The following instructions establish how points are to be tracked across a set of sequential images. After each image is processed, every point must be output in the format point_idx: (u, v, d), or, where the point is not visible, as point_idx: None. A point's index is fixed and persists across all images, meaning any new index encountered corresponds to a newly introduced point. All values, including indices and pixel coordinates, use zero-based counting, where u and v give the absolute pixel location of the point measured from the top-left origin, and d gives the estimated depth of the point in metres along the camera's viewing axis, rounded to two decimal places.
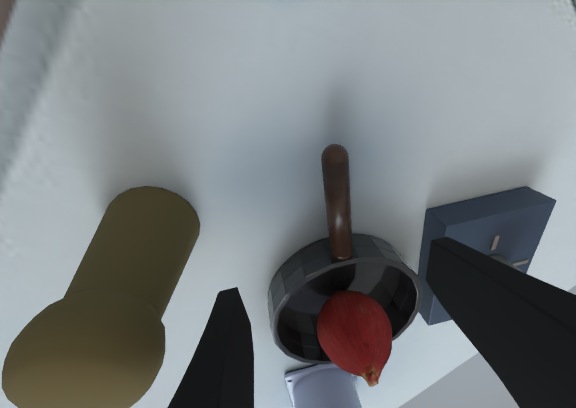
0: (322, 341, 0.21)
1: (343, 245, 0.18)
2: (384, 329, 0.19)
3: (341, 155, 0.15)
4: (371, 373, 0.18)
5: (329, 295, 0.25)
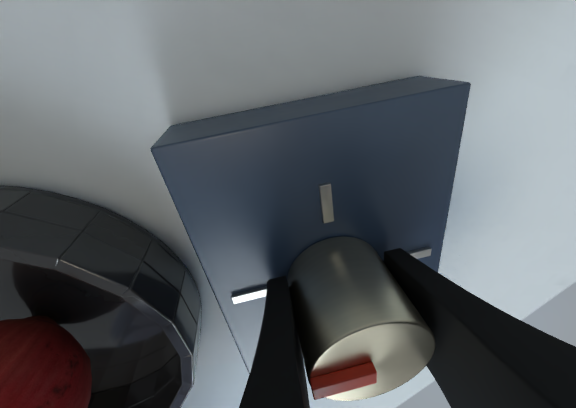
0: None
1: None
2: None
3: None
4: None
5: None
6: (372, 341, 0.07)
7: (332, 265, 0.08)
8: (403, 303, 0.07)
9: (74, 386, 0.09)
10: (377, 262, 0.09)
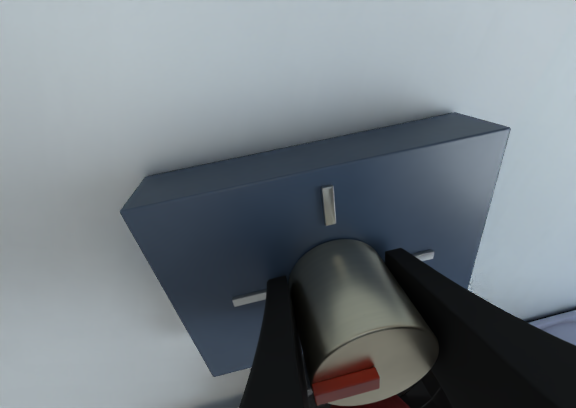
0: None
1: None
2: None
3: None
4: None
5: None
6: (375, 345, 0.07)
7: (334, 268, 0.08)
8: (406, 308, 0.07)
9: None
10: (379, 265, 0.08)
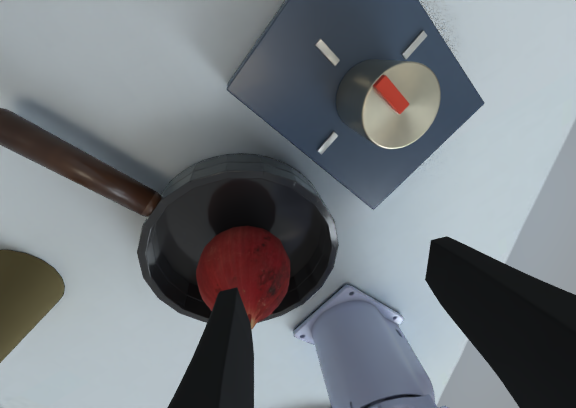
0: None
1: (125, 200, 0.15)
2: (239, 260, 0.15)
3: None
4: None
5: None
6: (422, 85, 0.11)
7: None
8: None
9: (272, 238, 0.17)
10: None
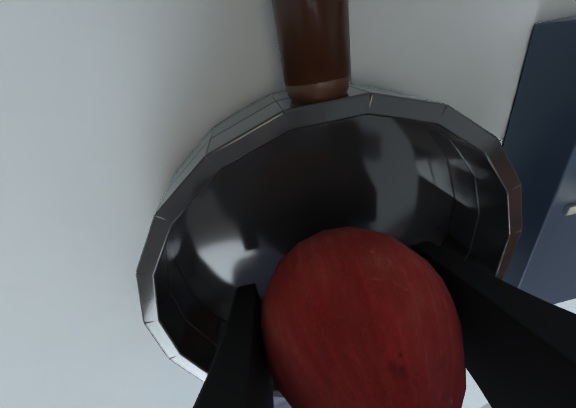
0: (267, 354, 0.07)
1: (319, 26, 0.05)
2: (449, 319, 0.06)
3: None
4: None
5: None
6: None
7: None
8: None
9: None
10: None
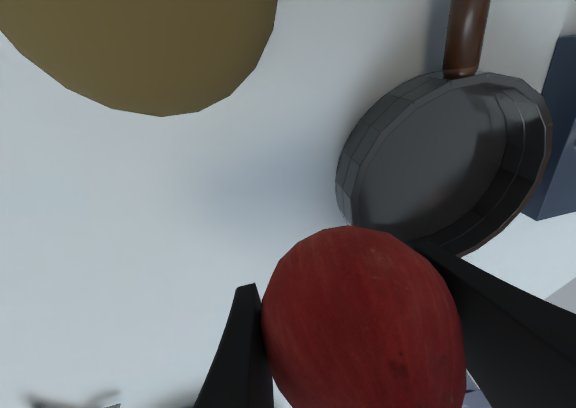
0: (267, 353, 0.07)
1: (474, 43, 0.13)
2: (449, 318, 0.06)
3: None
4: None
5: (413, 175, 0.19)
6: None
7: None
8: None
9: None
10: None
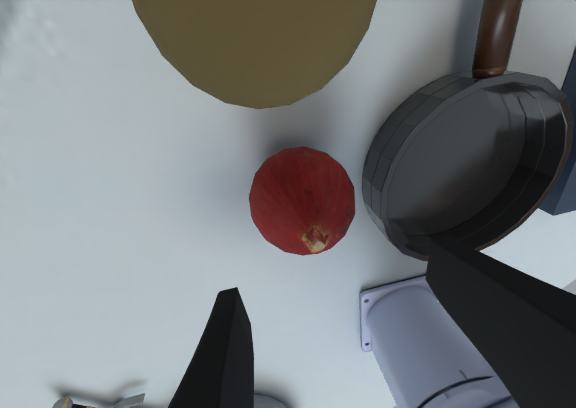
0: (252, 209, 0.14)
1: (505, 44, 0.13)
2: (339, 179, 0.13)
3: None
4: (314, 230, 0.12)
5: (436, 171, 0.20)
6: None
7: None
8: None
9: None
10: None
